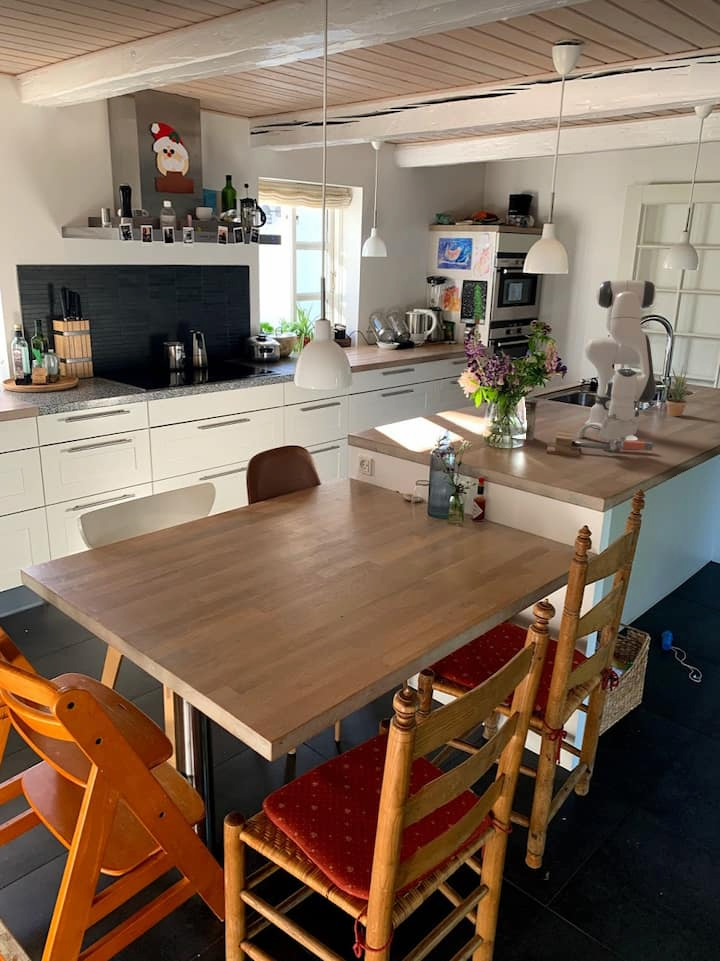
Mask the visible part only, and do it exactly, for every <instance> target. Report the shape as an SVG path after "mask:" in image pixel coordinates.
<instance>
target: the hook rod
mask: <svg viewBox="0 0 720 961" xmlns="http://www.w3.org/2000/svg"><path fill="white" fill-rule="evenodd" d="M621 444H622V442H621V441H615V445H616V449H615V450H612V452H611V453H616V454H617V453H618V454H619V453H621V450H622V449H621ZM572 446H573V447H580V448H584V449H585V448H586V449H587V448H588V449H596V450H603V449H606V450H611V449H610V444H606V443H595V442H593V443H592V442H584V441H576V440H575V441H574V440H572Z"/></svg>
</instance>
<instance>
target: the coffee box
mask: <svg viewBox="0 0 720 961" xmlns="http://www.w3.org/2000/svg"><path fill="white" fill-rule="evenodd" d="M524 399H525V407H526V420H527V431H526V440H525V441H529V442H530V441H531V442H532V441H533V440H534V437H535V426H536V418H537V410H538V400H537V399H531V398H524Z"/></svg>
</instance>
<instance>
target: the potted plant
mask: <svg viewBox="0 0 720 961" xmlns="http://www.w3.org/2000/svg"><path fill="white" fill-rule="evenodd" d="M683 368H684V365H682V366H681V371H680V375H679V374H677V375H676V373H675V370H674V367H672V373H673V374H672V375H673V378H674V381H675V382H674V381H673V379H671V383H672V386H673V388H672V390H671V389H668V391H669V392H670V396H672V397H671V398H666V399H665V404H666V408H667V409H666V410H667V415H668V416H669V415H671V416H670V417H674V416H680V417H682V415H683V412H684V410H685V408H686V406H687V405H688V401H687V400H686V397H687V394H688V392H689V390H688V387H689V384H688V385H687V386H685V385H686V384H687V381H688V379H686V380H685V378H686V375H687V372H685V374H684V376H683V372H684V370H683Z"/></svg>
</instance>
